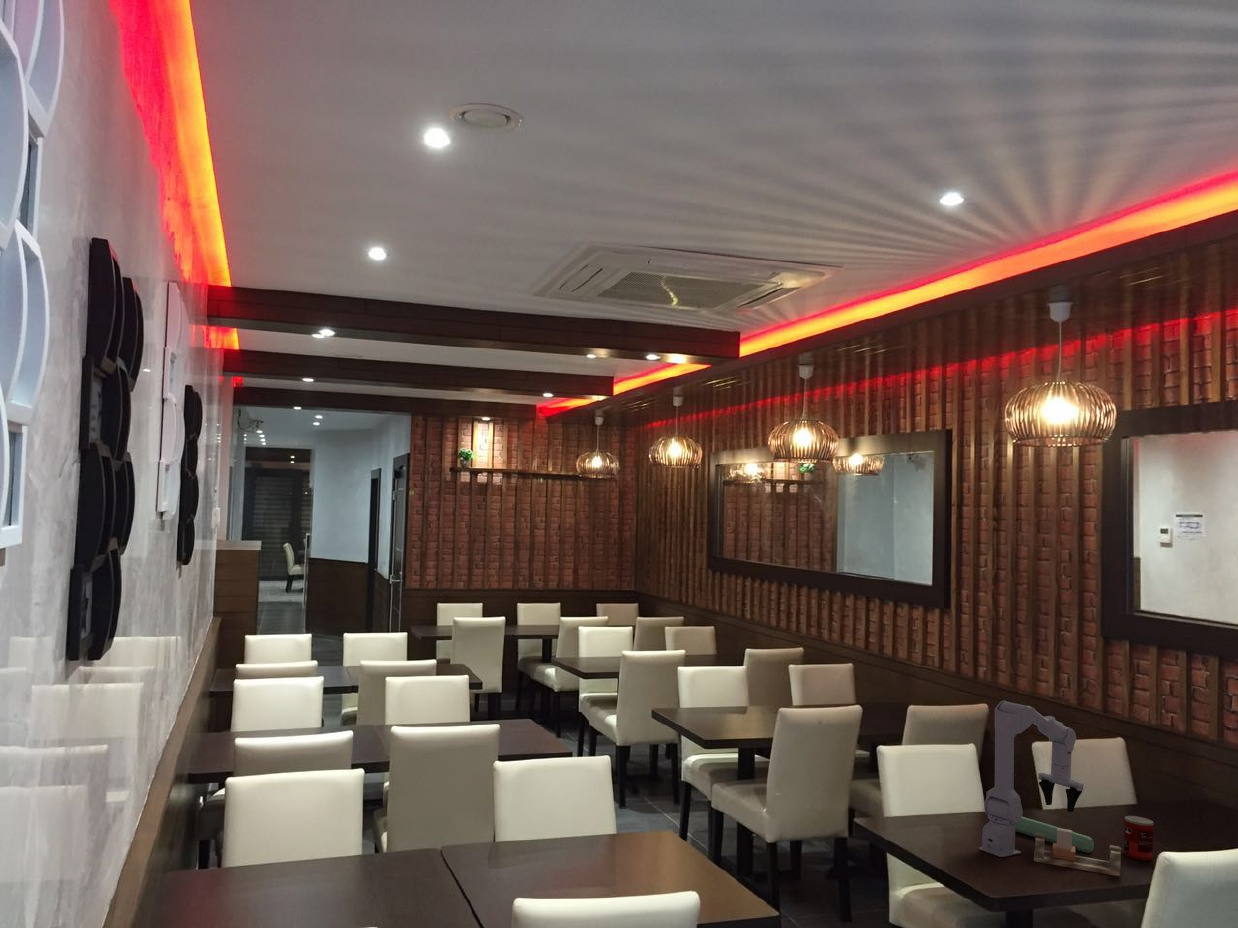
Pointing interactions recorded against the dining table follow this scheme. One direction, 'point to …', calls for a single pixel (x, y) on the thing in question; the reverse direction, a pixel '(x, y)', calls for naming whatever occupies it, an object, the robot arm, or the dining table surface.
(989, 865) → the dining table surface
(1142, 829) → the canned food
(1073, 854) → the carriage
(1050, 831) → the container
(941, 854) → the dining table surface
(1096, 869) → the rail
